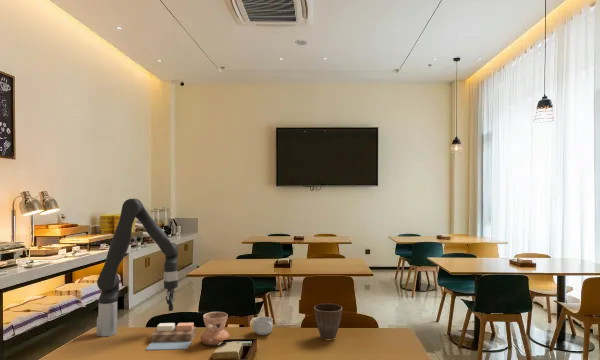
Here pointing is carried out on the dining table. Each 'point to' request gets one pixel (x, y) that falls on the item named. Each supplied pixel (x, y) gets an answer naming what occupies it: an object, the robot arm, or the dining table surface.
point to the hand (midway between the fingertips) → (170, 310)
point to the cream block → (166, 327)
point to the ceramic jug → (214, 328)
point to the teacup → (262, 325)
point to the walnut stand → (173, 335)
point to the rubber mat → (168, 345)
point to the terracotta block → (184, 326)
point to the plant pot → (328, 319)
